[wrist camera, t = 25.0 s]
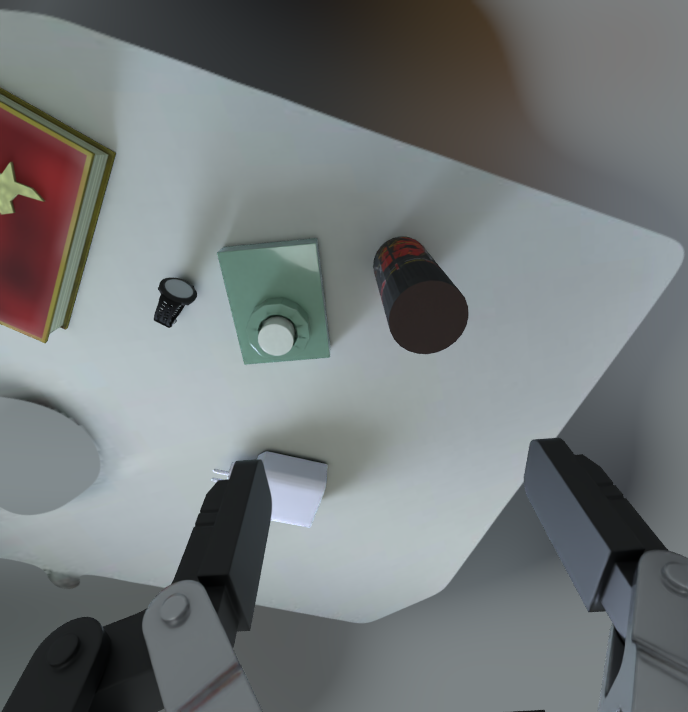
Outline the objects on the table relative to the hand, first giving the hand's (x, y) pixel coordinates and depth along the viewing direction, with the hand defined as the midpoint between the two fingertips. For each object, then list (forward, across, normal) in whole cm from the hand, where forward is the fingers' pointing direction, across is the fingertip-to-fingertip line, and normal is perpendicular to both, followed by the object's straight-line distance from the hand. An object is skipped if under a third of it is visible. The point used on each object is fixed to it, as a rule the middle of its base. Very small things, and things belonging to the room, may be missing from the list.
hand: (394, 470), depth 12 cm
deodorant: (+33, -5, +3) cm, 34 cm away
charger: (+33, +15, +32) cm, 49 cm away
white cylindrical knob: (+29, +9, +8) cm, 31 cm away
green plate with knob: (+33, +9, +6) cm, 35 cm away
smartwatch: (+33, +20, +4) cm, 39 cm away
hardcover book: (+33, +33, -5) cm, 47 cm away
